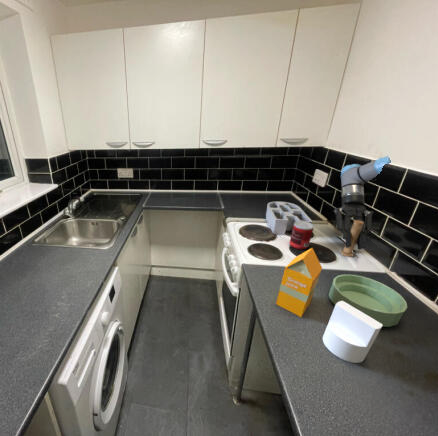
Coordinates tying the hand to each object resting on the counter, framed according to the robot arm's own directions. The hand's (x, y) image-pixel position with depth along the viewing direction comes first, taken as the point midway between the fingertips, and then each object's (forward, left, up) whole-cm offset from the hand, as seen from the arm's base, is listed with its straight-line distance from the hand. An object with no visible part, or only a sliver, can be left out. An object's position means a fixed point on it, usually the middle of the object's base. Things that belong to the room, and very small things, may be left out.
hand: (354, 247), depth 95 cm
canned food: (+18, -6, -6) cm, 20 cm away
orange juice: (+26, +36, -6) cm, 45 cm away
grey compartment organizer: (+22, -29, -6) cm, 37 cm away
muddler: (0, -4, -6) cm, 7 cm away
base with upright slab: (+16, +49, -6) cm, 52 cm away
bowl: (+6, +30, -6) cm, 31 cm away
